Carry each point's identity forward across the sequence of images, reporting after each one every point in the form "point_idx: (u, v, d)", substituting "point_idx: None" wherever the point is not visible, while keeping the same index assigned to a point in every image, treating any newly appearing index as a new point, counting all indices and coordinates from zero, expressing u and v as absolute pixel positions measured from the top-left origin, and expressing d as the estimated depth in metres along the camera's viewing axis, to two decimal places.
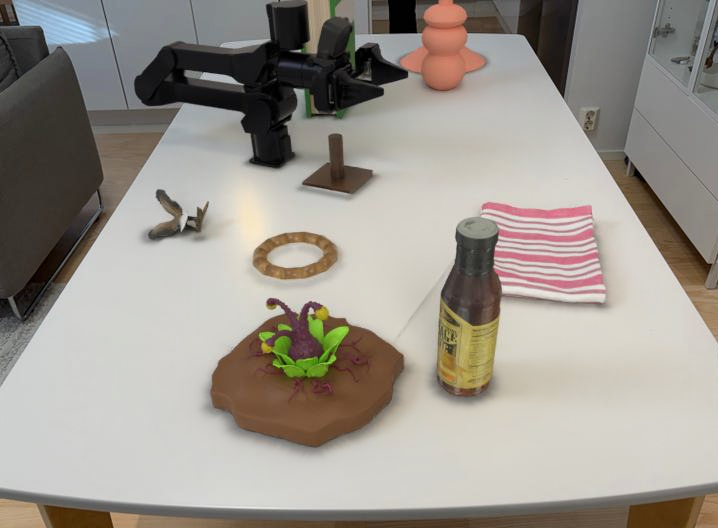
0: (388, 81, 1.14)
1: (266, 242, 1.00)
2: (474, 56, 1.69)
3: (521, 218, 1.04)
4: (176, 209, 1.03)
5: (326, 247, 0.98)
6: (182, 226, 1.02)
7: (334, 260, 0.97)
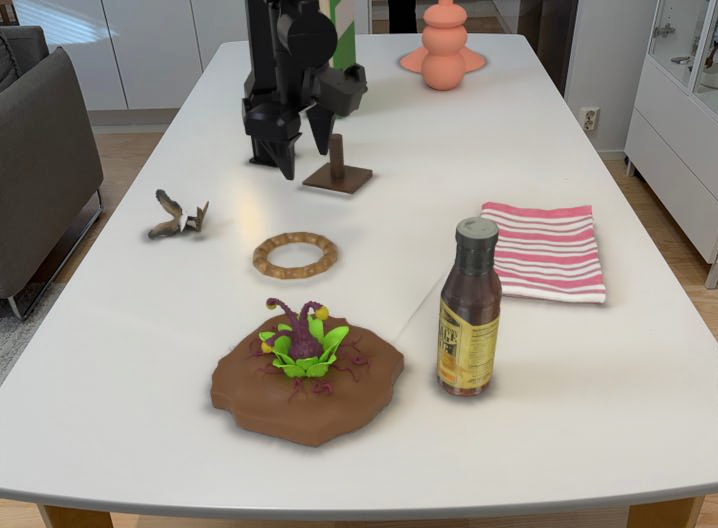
0: (312, 128, 0.96)
1: (266, 242, 1.00)
2: (474, 56, 1.69)
3: (521, 218, 1.04)
4: (176, 209, 1.03)
5: (326, 247, 0.98)
6: (182, 226, 1.02)
7: (334, 260, 0.97)
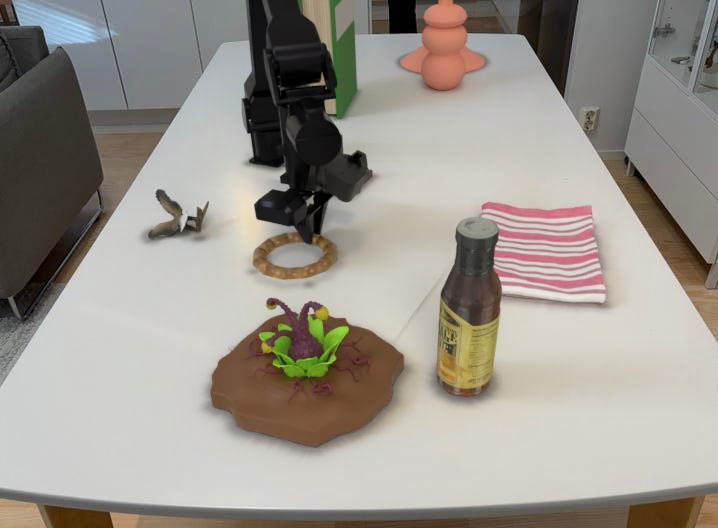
0: None
1: (266, 242, 1.00)
2: (474, 56, 1.69)
3: (521, 218, 1.04)
4: (176, 209, 1.03)
5: (326, 247, 0.98)
6: (182, 226, 1.02)
7: (334, 260, 0.97)
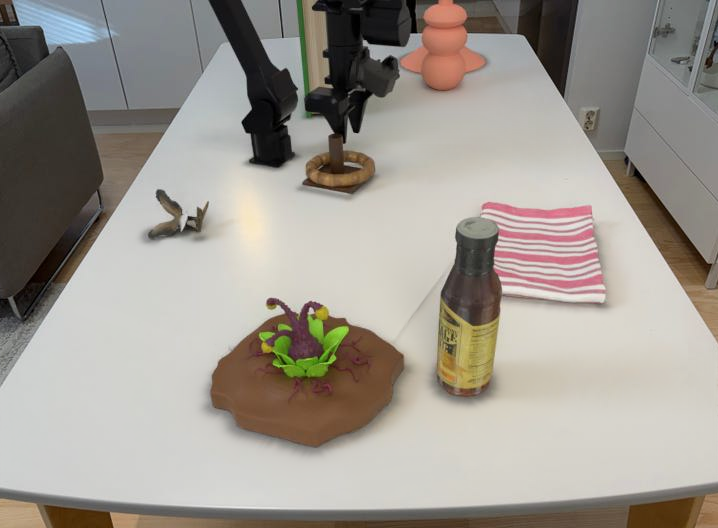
0: None
1: (315, 157, 1.20)
2: (474, 56, 1.69)
3: (521, 218, 1.04)
4: (176, 209, 1.03)
5: (366, 160, 1.19)
6: (182, 226, 1.02)
7: (373, 170, 1.17)
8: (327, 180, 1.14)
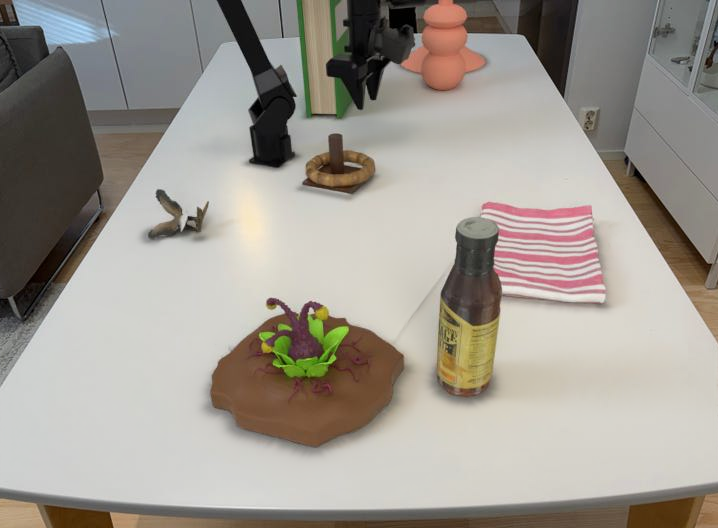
0: (365, 79, 1.26)
1: (315, 157, 1.20)
2: (474, 56, 1.69)
3: (521, 218, 1.04)
4: (176, 209, 1.03)
5: (366, 160, 1.19)
6: (182, 226, 1.02)
7: (373, 170, 1.17)
8: (327, 180, 1.14)
